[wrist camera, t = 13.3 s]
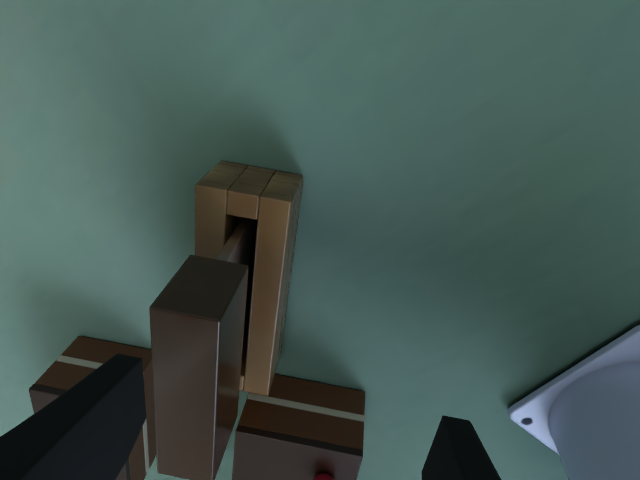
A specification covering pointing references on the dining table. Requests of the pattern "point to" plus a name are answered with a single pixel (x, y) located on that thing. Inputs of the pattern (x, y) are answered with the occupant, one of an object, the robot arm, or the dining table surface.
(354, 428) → the chocolate cake
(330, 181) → the dining table surface
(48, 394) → the cake slice
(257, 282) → the knife block
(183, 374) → the cake cutter
